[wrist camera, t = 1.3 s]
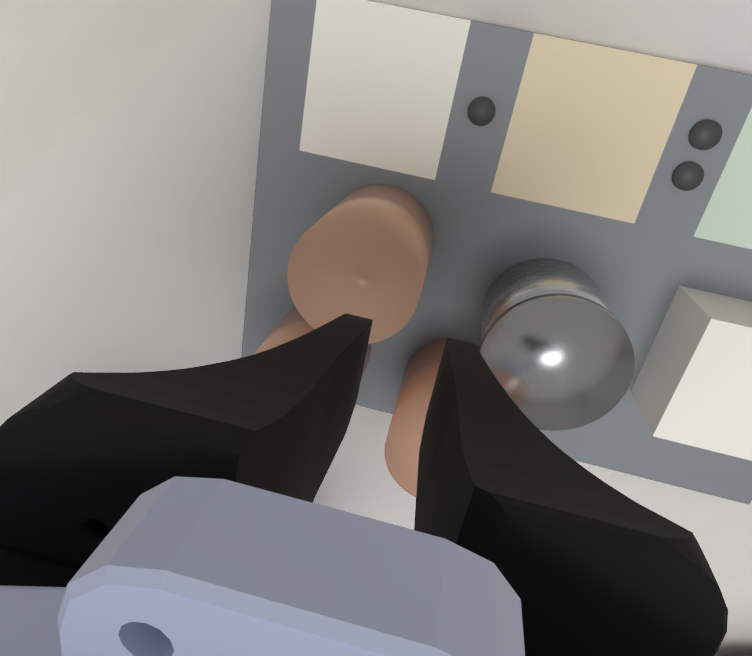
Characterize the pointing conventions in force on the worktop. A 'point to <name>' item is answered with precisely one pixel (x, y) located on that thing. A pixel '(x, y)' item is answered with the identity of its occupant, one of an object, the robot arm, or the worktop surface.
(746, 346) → the white block
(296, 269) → the tan rounded cylinder
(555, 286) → the tin
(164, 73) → the worktop surface
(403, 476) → the tan rounded block
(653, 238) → the board
